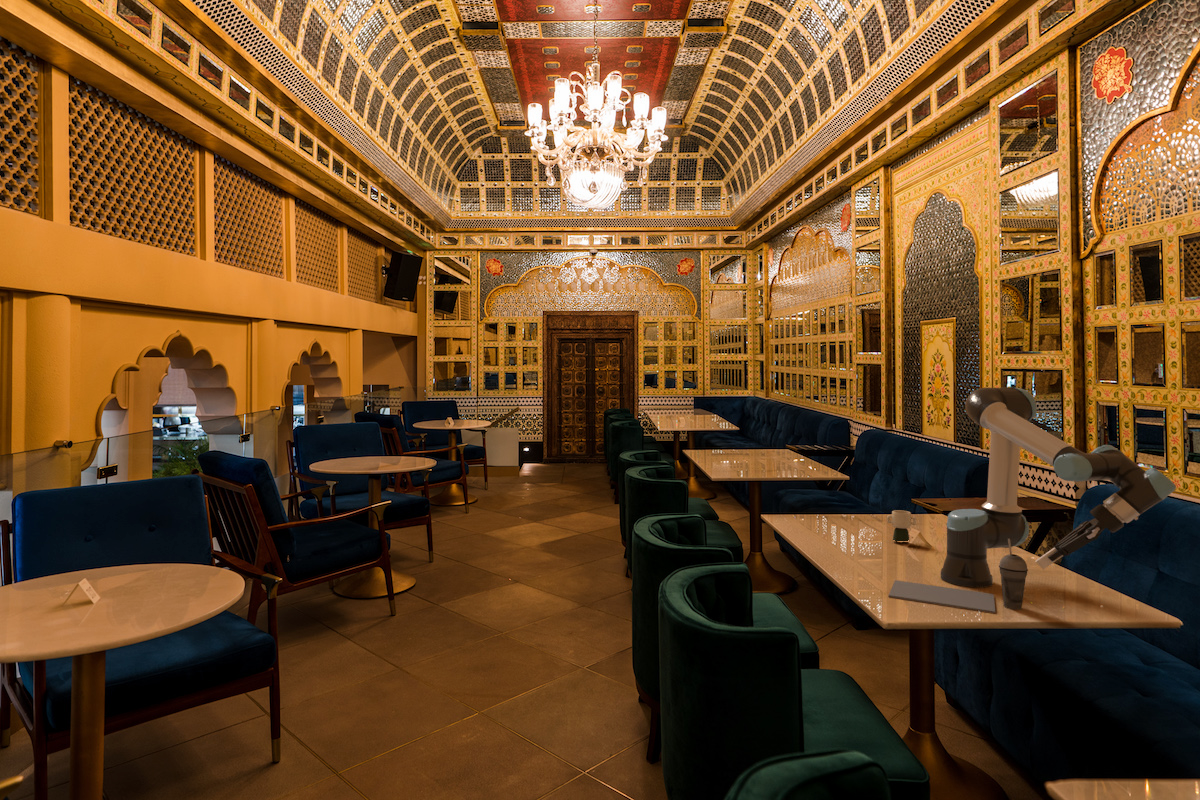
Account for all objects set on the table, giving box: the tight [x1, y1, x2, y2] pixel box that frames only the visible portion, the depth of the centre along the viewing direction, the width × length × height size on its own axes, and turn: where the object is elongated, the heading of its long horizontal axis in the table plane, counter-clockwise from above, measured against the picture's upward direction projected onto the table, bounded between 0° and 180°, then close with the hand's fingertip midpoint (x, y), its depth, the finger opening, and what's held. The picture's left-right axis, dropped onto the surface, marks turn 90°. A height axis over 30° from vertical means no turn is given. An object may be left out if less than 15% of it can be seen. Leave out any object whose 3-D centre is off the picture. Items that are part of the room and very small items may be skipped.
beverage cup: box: [998, 539, 1029, 611], centre depth 189 cm, size 7×7×20 cm
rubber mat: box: [888, 579, 996, 614], centre depth 198 cm, size 28×18×1 cm, turn 60°
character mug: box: [886, 509, 917, 542], centre depth 267 cm, size 11×7×13 cm, turn 69°
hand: (1039, 565), depth 185 cm, fingers closed
